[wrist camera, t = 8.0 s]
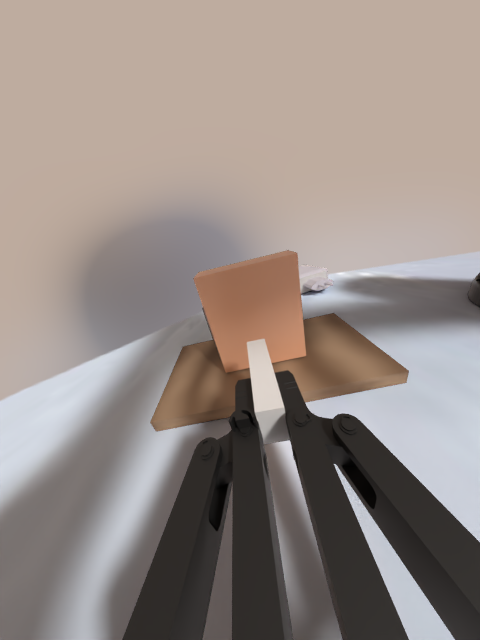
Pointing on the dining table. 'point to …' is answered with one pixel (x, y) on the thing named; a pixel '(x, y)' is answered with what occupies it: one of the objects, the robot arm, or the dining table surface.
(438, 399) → the dining table surface
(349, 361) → the base board
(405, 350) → the dining table surface
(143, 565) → the dining table surface
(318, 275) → the charger
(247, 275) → the orange block
